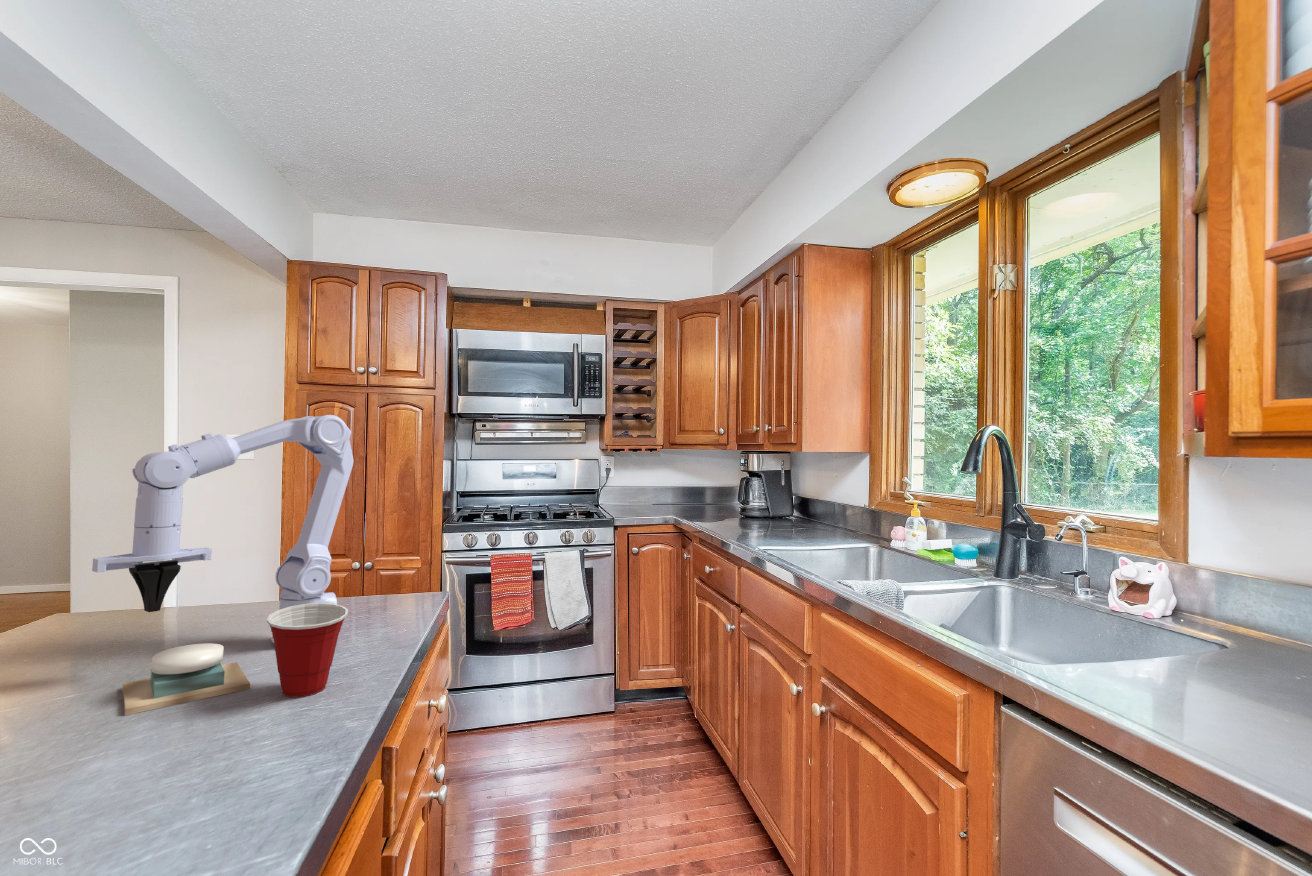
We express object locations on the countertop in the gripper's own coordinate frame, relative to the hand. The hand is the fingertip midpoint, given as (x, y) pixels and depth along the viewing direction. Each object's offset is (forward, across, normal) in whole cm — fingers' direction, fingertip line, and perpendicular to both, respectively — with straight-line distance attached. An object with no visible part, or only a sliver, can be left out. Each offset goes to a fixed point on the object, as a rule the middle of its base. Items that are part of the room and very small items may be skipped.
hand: (152, 610), depth 91 cm
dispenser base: (+10, -1, +11) cm, 15 cm away
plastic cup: (+11, -11, +26) cm, 30 cm away
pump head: (+9, -1, +11) cm, 14 cm away
